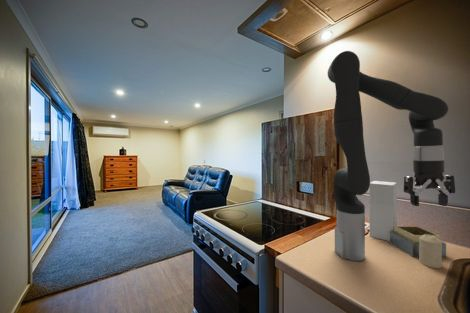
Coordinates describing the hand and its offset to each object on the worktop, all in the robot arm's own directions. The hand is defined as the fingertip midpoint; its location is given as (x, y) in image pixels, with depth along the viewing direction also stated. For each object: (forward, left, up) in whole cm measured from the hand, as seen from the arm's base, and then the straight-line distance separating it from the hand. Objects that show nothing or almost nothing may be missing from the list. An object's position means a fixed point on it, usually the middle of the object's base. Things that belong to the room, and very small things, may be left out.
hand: (428, 205), depth 66 cm
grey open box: (+4, +10, -21) cm, 23 cm away
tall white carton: (0, +22, -21) cm, 30 cm away
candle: (0, 0, -21) cm, 21 cm away
